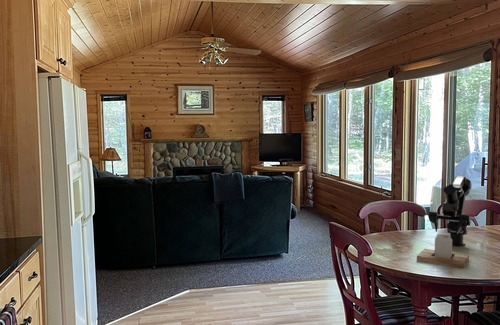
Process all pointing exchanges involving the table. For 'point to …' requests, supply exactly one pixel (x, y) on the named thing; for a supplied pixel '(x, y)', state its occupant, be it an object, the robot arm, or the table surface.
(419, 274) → the table surface
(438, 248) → the can
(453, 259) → the pocket board
